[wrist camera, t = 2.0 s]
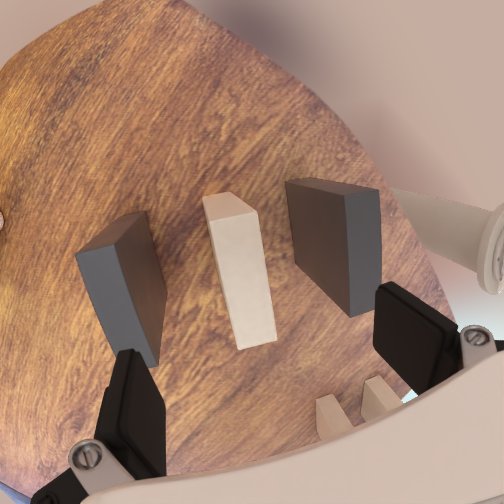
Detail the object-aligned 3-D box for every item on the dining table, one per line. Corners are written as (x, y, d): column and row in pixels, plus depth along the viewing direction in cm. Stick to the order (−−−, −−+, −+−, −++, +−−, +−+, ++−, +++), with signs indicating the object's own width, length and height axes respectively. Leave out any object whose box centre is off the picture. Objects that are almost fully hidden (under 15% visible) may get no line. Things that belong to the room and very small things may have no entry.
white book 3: (379, 374, 36) (421, 423, 26) (373, 408, 39) (407, 454, 29) (364, 380, 36) (404, 432, 26) (360, 413, 39) (392, 462, 28)
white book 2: (332, 393, 35) (368, 451, 25) (331, 425, 38) (361, 477, 28) (315, 399, 35) (348, 459, 25) (316, 430, 38) (343, 485, 27)
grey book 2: (145, 210, 24) (114, 243, 14) (167, 293, 27) (158, 366, 16) (119, 216, 24) (74, 254, 14) (143, 298, 26) (122, 372, 16)
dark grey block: (309, 177, 26) (379, 189, 16) (318, 258, 29) (381, 307, 18) (284, 181, 26) (343, 195, 16) (295, 263, 28) (349, 318, 18)
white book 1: (229, 191, 25) (257, 210, 15) (245, 275, 28) (277, 340, 17) (201, 197, 25) (208, 221, 15) (219, 281, 27) (238, 350, 17)
